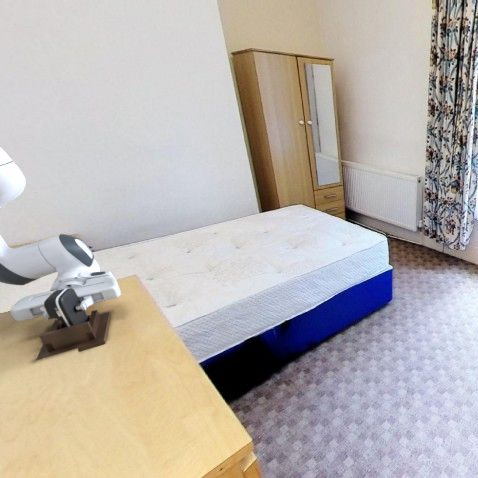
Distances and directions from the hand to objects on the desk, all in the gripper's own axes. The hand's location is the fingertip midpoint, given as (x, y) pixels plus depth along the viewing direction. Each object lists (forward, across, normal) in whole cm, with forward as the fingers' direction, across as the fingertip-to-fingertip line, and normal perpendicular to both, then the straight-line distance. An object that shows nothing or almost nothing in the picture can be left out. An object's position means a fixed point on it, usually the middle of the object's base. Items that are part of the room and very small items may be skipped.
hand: (65, 312), depth 82 cm
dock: (-1, 0, +8) cm, 8 cm away
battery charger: (-1, 0, +6) cm, 6 cm away
